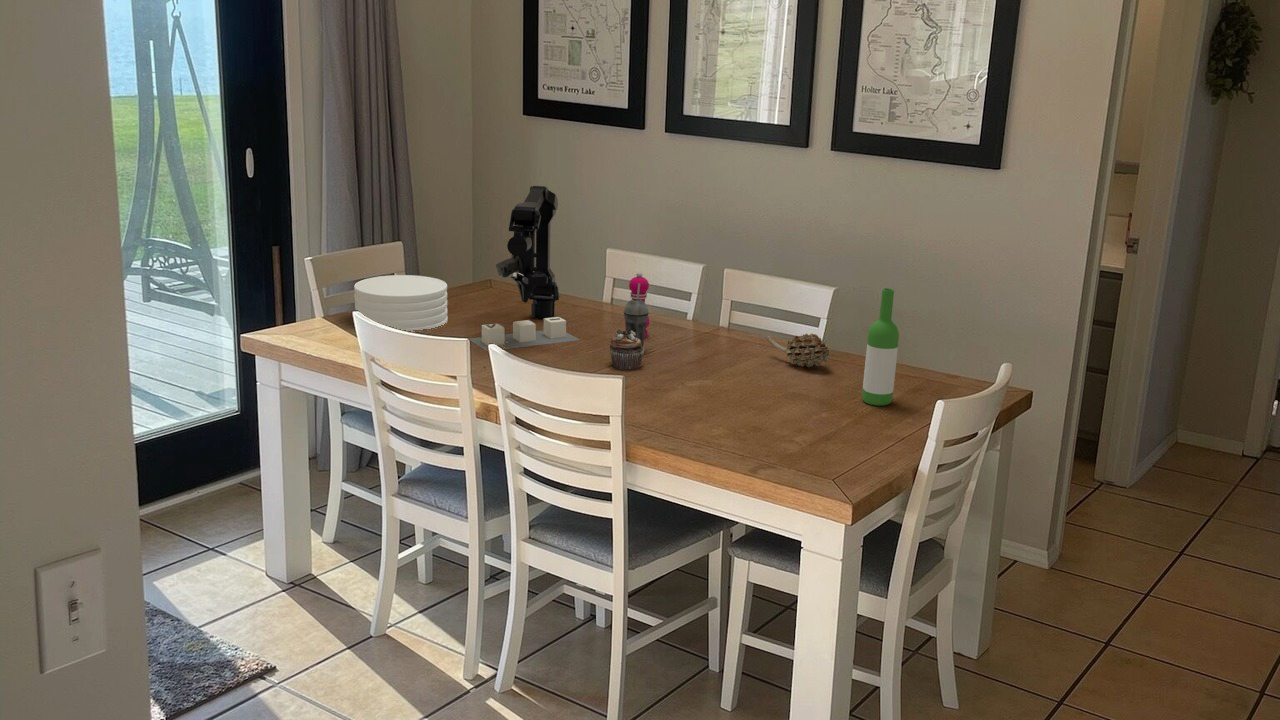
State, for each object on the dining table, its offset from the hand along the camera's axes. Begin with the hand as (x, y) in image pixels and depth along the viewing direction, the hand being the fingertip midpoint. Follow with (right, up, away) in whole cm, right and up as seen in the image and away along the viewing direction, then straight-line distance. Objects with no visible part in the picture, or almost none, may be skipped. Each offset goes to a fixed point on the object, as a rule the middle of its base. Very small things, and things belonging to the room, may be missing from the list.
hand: (524, 301), depth 338 cm
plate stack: (-40, -5, +21) cm, 45 cm away
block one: (+8, -10, +8) cm, 15 cm away
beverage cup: (+32, -15, -2) cm, 35 cm away
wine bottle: (+95, -28, -38) cm, 106 cm away
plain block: (0, -11, +3) cm, 11 cm away
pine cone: (+78, -18, -8) cm, 80 cm away
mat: (0, -11, +3) cm, 12 cm away
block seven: (-9, -12, -2) cm, 15 cm away
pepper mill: (+33, -10, +14) cm, 37 cm away
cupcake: (+30, -19, -16) cm, 39 cm away
